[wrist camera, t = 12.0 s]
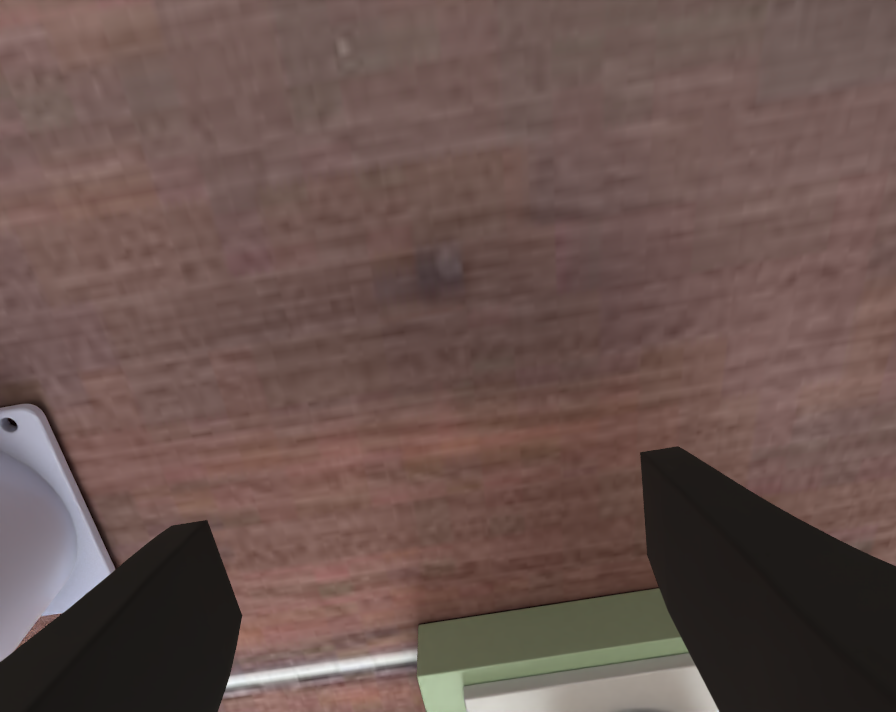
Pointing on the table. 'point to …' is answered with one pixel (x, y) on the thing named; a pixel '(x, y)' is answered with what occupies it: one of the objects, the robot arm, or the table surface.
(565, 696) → the scale
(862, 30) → the table surface
